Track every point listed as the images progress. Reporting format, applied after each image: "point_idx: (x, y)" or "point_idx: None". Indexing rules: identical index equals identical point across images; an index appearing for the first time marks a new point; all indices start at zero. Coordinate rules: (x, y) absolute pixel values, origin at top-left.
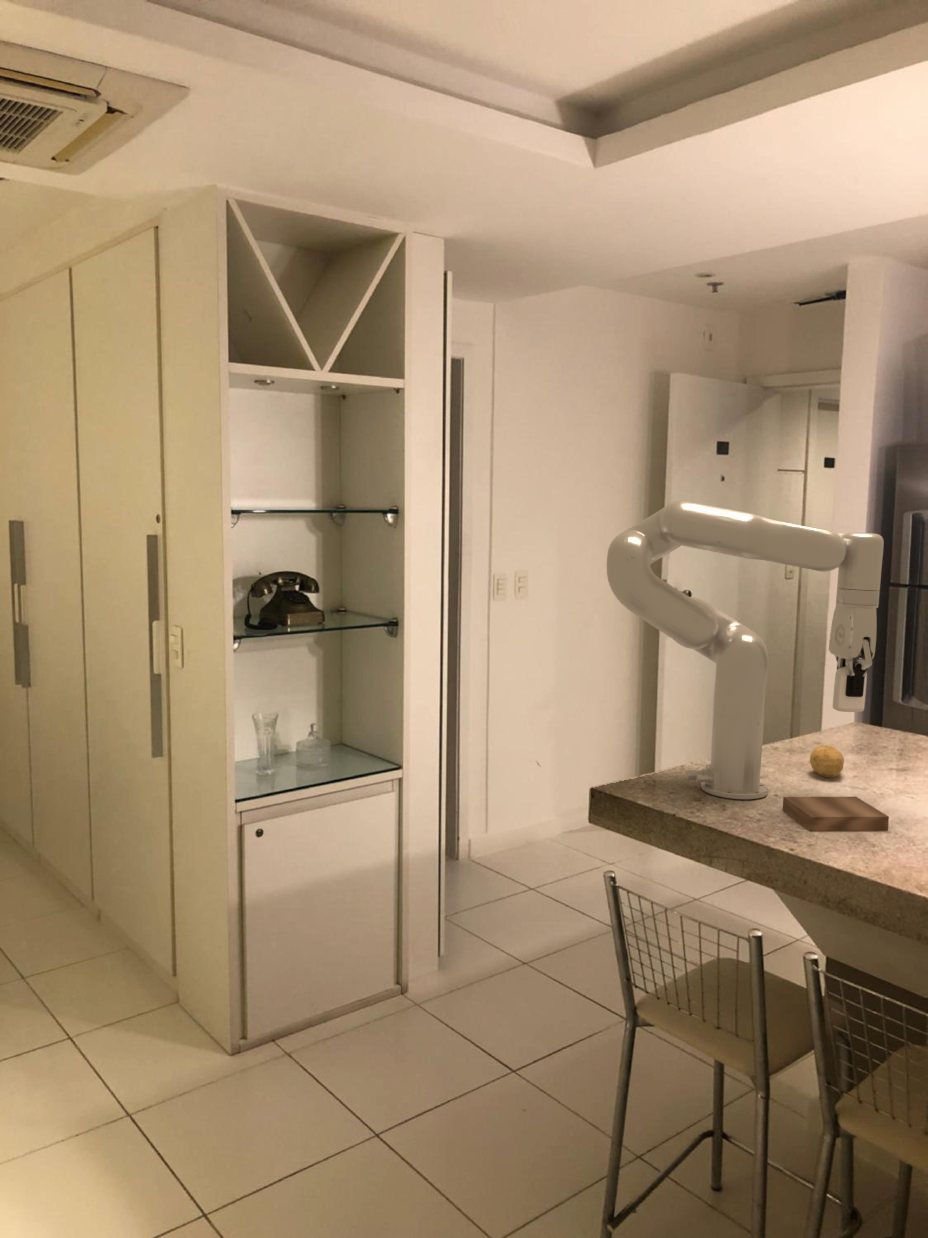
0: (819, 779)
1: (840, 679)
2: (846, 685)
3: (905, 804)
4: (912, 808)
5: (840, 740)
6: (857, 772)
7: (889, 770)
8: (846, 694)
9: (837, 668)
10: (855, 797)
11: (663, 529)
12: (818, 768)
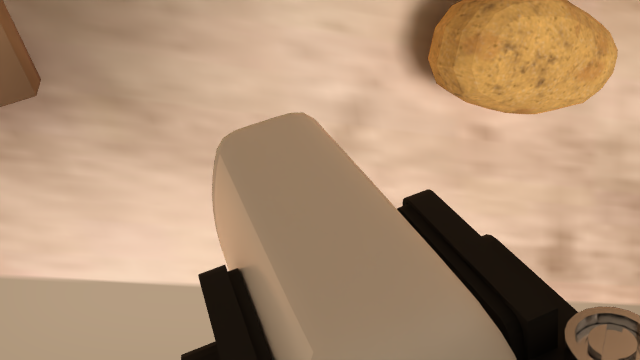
0: (437, 7)
1: (296, 310)
2: (242, 332)
3: (186, 248)
4: (143, 264)
5: None
6: (527, 145)
7: (549, 232)
8: (205, 277)
9: (628, 325)
10: (17, 91)
11: None
12: (453, 6)
